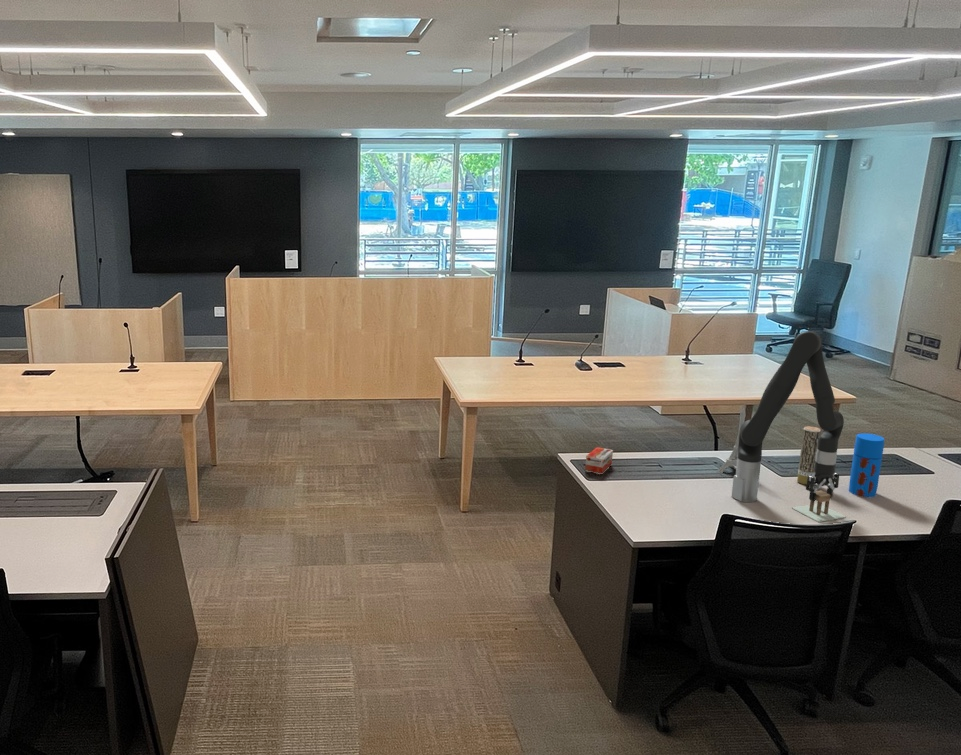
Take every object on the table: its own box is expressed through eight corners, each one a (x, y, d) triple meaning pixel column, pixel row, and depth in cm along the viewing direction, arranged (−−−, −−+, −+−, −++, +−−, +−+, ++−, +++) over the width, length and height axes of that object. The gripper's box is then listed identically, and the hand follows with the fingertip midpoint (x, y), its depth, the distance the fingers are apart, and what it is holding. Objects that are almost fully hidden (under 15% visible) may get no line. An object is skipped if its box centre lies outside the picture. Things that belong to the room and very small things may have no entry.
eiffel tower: (716, 472, 346) (723, 408, 339) (728, 464, 356) (735, 403, 349) (745, 479, 338) (752, 414, 331) (756, 471, 348) (763, 408, 341)
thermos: (853, 486, 333) (861, 431, 327) (879, 493, 325) (888, 437, 319) (844, 492, 325) (852, 436, 319) (870, 499, 318) (879, 442, 312)
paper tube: (799, 478, 340) (806, 425, 334) (815, 482, 336) (822, 428, 330) (794, 482, 335) (801, 428, 329) (810, 486, 331) (818, 432, 325)
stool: (808, 510, 304) (811, 491, 302) (818, 508, 306) (820, 490, 304) (818, 515, 299) (820, 496, 298) (828, 513, 301) (830, 494, 299)
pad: (818, 522, 294) (818, 521, 294) (792, 508, 307) (792, 507, 306) (845, 517, 299) (846, 516, 299) (818, 504, 312) (818, 503, 311)
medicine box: (601, 476, 338) (602, 459, 336) (584, 472, 342) (585, 455, 340) (612, 465, 351) (613, 449, 350) (595, 462, 355) (596, 446, 353)
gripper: (832, 456, 303) (826, 493, 307) (804, 459, 298) (799, 498, 302) (847, 462, 297) (841, 500, 300) (818, 466, 292) (813, 505, 295)
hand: (820, 499), depth 301 cm, fingers open, 8 cm apart
